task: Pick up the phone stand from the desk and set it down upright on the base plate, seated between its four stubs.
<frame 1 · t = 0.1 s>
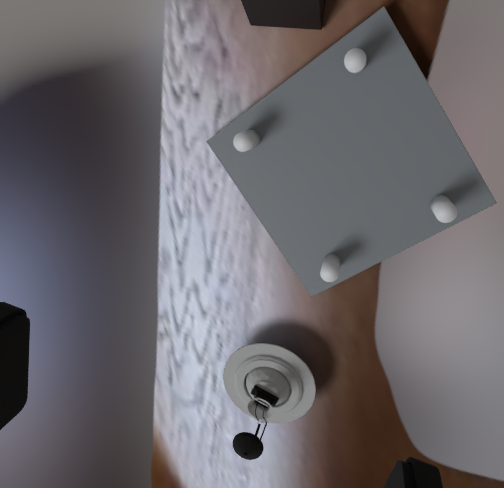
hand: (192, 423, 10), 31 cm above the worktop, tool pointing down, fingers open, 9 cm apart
grey round ringed piece: (273, 368, 47), on the worktop
base plate: (343, 168, 37), on the worktop
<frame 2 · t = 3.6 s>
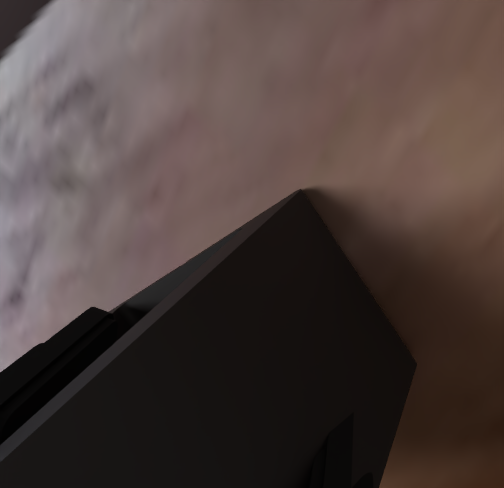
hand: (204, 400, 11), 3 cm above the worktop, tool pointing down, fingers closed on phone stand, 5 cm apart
phone stand: (239, 334, 14), on the worktop, touching gripper
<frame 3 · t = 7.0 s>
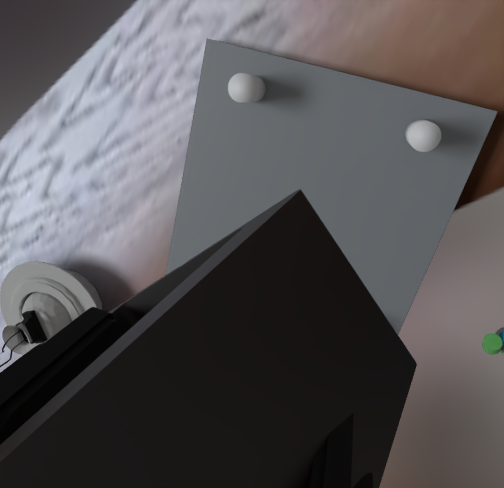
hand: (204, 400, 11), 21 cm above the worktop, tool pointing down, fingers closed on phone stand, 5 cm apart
phone stand: (239, 334, 14), point 18 cm above the worktop, touching gripper
grey round ringed piece: (71, 301, 38), on the worktop
base plate: (305, 206, 30), on the worktop
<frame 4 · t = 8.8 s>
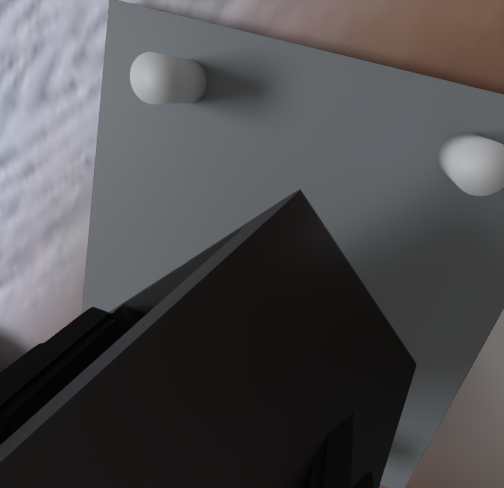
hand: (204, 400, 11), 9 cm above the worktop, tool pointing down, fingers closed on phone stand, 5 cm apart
phone stand: (239, 334, 14), point 6 cm above the worktop, touching gripper
base plate: (277, 264, 19), on the worktop
when the fingers open (6 cm above the worktop, at t = 10.3 s): phone stand drops 2 cm, resting on base plate.
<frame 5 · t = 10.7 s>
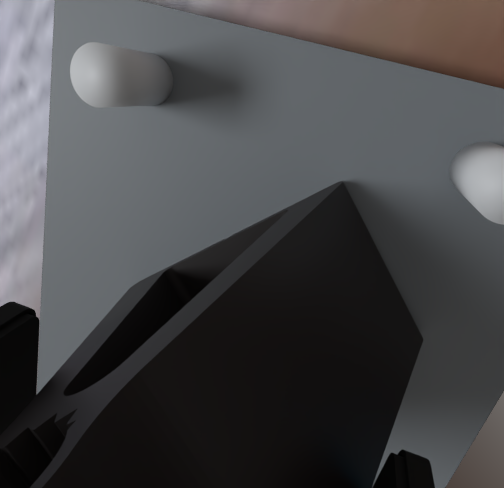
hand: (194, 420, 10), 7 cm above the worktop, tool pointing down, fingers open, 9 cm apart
phone stand: (269, 303, 16), point 1 cm above the worktop, touching base plate
base plate: (261, 292, 17), on the worktop
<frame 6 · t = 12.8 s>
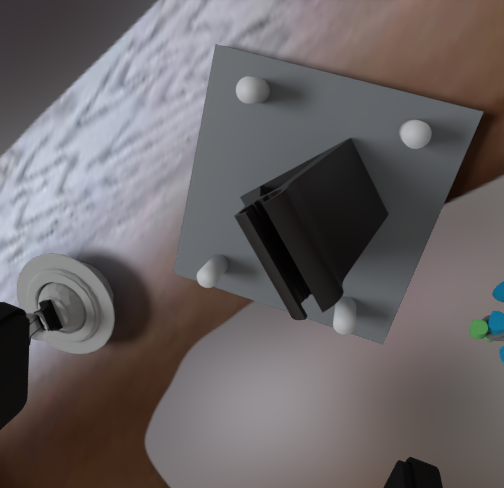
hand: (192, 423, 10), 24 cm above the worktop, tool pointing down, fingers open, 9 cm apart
phone stand: (312, 203, 31), point 1 cm above the worktop, touching base plate
grey round ringed piece: (84, 292, 40), on the worktop
base plate: (306, 200, 32), on the worktop
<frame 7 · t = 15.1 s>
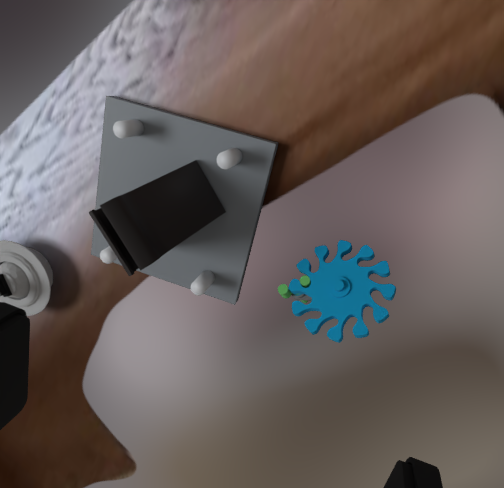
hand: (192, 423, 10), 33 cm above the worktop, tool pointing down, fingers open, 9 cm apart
phone stand: (179, 204, 44), point 1 cm above the worktop, touching base plate
grey round ringed piece: (32, 270, 54), on the worktop
gear: (337, 273, 44), on the worktop
base plate: (178, 202, 45), on the worktop
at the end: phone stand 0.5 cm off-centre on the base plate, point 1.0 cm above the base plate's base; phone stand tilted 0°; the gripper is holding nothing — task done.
